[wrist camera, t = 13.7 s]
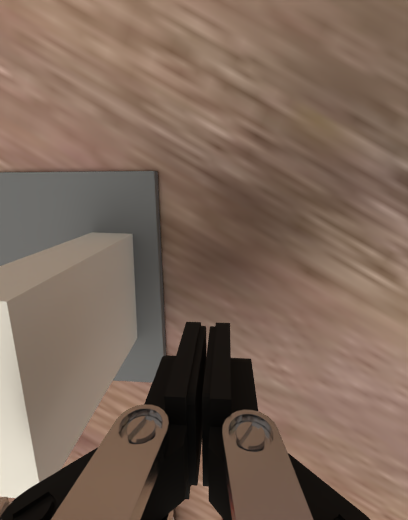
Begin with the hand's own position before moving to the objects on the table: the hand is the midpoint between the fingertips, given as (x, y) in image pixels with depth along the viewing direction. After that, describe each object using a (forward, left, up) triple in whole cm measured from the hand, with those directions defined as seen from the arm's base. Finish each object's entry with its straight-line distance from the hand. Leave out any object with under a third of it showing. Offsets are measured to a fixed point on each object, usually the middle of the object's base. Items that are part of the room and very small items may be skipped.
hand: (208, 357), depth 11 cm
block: (+6, 0, -7) cm, 9 cm away
